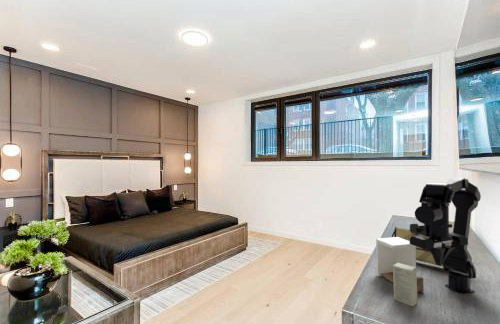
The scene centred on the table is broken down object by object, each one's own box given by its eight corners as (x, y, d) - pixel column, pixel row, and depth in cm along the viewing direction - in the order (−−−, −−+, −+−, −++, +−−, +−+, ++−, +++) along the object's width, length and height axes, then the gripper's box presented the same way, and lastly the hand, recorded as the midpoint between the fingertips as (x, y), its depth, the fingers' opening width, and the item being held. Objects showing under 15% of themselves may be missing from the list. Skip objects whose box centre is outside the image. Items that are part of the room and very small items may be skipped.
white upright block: (398, 272, 108) (397, 236, 108) (416, 282, 99) (415, 243, 99) (376, 275, 105) (376, 238, 105) (393, 285, 96) (392, 245, 97)
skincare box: (417, 302, 85) (417, 267, 85) (412, 307, 82) (412, 270, 82) (397, 295, 90) (397, 261, 90) (392, 299, 87) (392, 264, 87)
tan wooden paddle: (397, 273, 106) (397, 261, 106) (428, 290, 92) (428, 276, 92) (381, 275, 104) (381, 263, 104) (411, 293, 90) (411, 279, 90)
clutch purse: (389, 257, 125) (388, 228, 125) (393, 254, 130) (393, 225, 130) (466, 277, 103) (466, 241, 103) (468, 272, 108) (468, 238, 108)
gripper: (437, 213, 94) (437, 254, 94) (396, 216, 90) (396, 259, 90) (469, 220, 83) (469, 266, 83) (424, 223, 79) (424, 272, 79)
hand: (438, 265), depth 84 cm, fingers closed
